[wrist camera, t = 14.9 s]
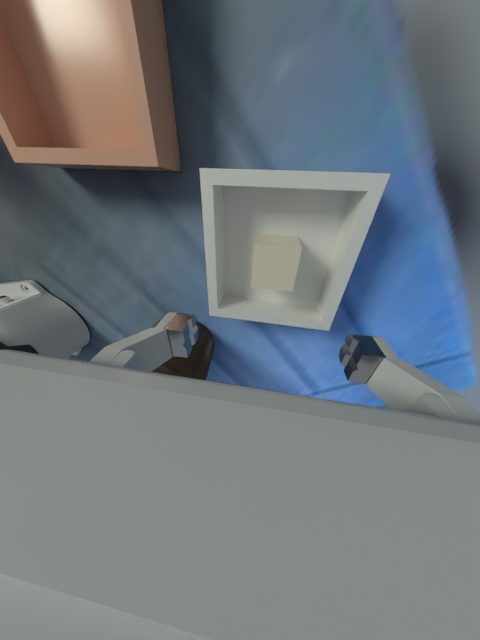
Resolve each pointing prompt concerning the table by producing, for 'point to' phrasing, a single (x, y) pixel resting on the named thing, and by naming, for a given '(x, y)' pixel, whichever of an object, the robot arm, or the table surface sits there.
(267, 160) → the table surface
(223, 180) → the light grey bin
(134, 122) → the terracotta bin
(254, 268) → the sandstone block
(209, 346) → the plant pot
